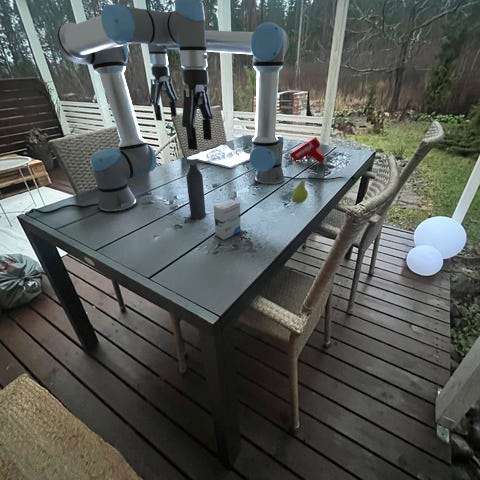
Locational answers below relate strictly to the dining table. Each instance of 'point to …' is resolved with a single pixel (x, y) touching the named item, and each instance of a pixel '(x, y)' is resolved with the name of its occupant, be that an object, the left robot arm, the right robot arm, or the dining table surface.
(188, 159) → the cap
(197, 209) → the bottle
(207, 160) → the relief map
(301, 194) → the fruit
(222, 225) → the ink box
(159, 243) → the dining table surface
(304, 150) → the toy gun
